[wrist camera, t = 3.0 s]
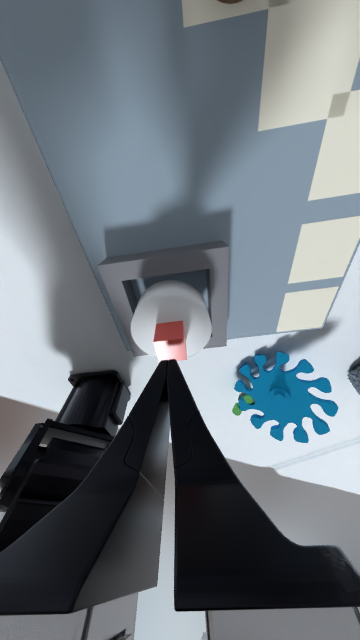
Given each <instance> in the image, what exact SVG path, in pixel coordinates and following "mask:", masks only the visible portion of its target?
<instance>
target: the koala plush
mask: <svg viewBox="0 0 360 640" xmlns="http://www.w3.org/2000/svg"><path fill="white" fill-rule="evenodd" d="M347 376H348V377H349V378H348V379H349V380H350V382H351V383H352V385H353V387H354V388H355V389H356V391H357V392H358V394H360V366H358V367H356V368H355V370H352V371H351V372H350V373H349V374H348V375H347Z"/></svg>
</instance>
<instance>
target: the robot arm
mask: <svg viewBox="0 0 360 640" xmlns="http://www.w3.org/2000/svg"><path fill="white" fill-rule="evenodd" d="M68 381H69V382H70V383H71V384H72V385H73V389H72V391H71V393H70V394H69V396H68V398H67V400H66V402H65V404H64V405H63V407H62V409H61V411H60V413H59V415H58V417H57V418H56V420H55V421H53V420H52V419H47V420H46V422H45V423H39V424H35V426H34V427H33V429H32V430H31V432H30V434H29V435H28V437H27V438H26V440H25V442H24V443H23V445H22V446H21V448H20V449H19V451H18V452H17V454H16V455H15V457H14V459H13V460H12V462H11V463H10V465H9V466H8V468H7V469H6V471H5V472H4V474H3V475H2V477H1V479H0V488H1V493H0V512H3V514H2V516H1V517H0V640H134V630H135V621H136V611H137V600H138V592H140V591H143V590H147V589H150V588H153V587H156V586H157V580H158V569H159V556H160V544H161V531H162V519H163V507H164V494H165V481H166V469H167V455H168V444H169V431H170V427H171V439H172V451H173V461H174V474H175V559H174V607H175V611H205V617H206V632H204V633H203V636H202V640H360V613H359V611H358V609H357V607H360V573H359V571H358V570H357V569H356V567H355V566H354V565H353V563H352V562H351V561H350V559H349V558H348V557H347V555H346V554H345V553H344V551H343V550H342V549H341V548H340V547H339V546H336V545H314V546H302V545H298V544H296V543H294V542H292V541H290V540H289V539H288V538H286V537H285V536H284V535H283V534H282V533H281V532H280V531H279V530H278V528H277V527H276V526H275V525H274V523H273V522H272V521H271V520H270V518H269V517H268V516H267V515H266V513H265V512H264V511H263V510H262V508H261V507H260V506H259V505H258V503H257V502H256V501H255V500H254V498H253V497H252V496H251V495H250V493H249V492H248V491H247V490H246V488H245V487H244V486H243V485H242V483H241V482H240V480H239V479H238V478H237V476H236V475H235V473H234V472H233V470H232V469H231V467H230V465H229V464H228V462H227V461H226V459H225V457H224V456H223V454H222V452H221V451H220V449H219V447H218V446H217V444H216V442H215V441H214V439H213V437H212V436H211V434H210V432H209V430H208V429H207V427H206V425H205V423H204V421H203V419H202V417H201V414H200V412H199V410H198V408H197V406H196V403H195V401H194V399H193V397H192V394H191V392H190V390H189V388H188V385H187V383H186V381H185V379H184V377H183V374H182V372H181V370H180V368H179V365H178V363H177V361H176V359H169V360H161V361H160V363H159V365H158V366H157V368H156V370H155V371H154V373H153V375H152V376H151V378H150V380H149V381H148V383H147V385H146V386H145V388H144V390H143V392H142V393H141V395H140V397H139V398H138V400H137V402H136V403H135V405H134V407H133V408H132V410H131V412H130V414H129V416H128V417H127V418H126V420H125V422H124V424H123V425H122V427H121V428H120V430H119V432H118V434H117V435H116V432H117V429H118V425H121V424H122V423H123V419H124V415H125V411H126V406H127V402H128V401H129V400H130V395H129V392H128V390H127V388H126V387H125V385H124V383H123V382H122V380H121V378H120V376H119V374H118V373H117V372H116V371H106V372H96V373H87V374H78V375H70V376H69V378H68ZM40 443H42V444H47V447H41V446H39V444H40Z"/></svg>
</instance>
